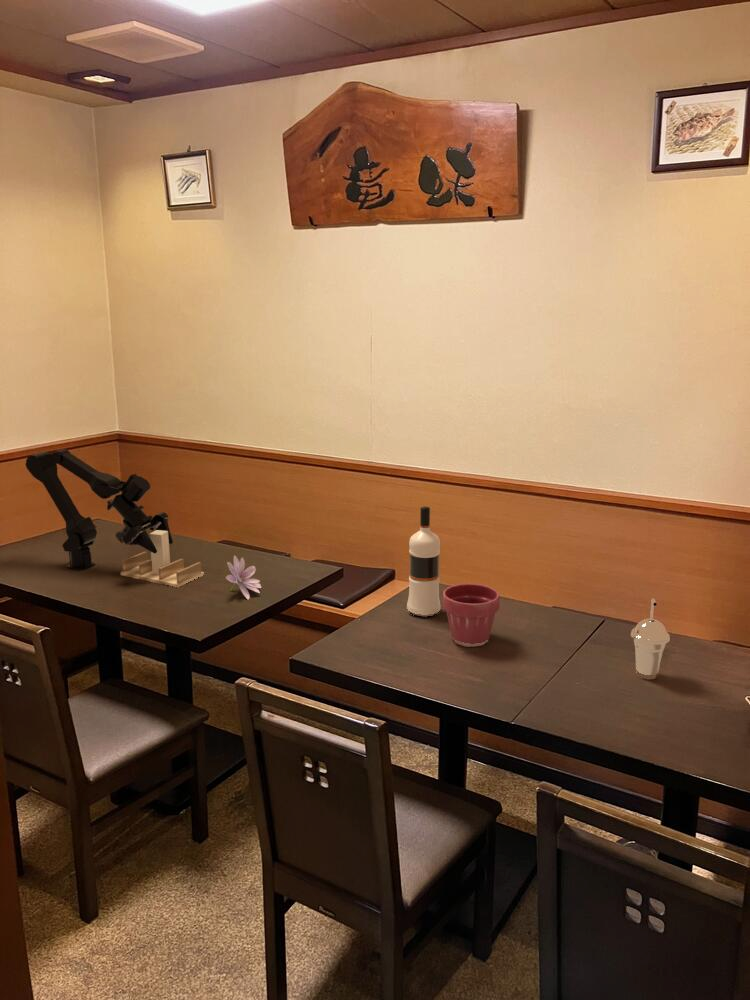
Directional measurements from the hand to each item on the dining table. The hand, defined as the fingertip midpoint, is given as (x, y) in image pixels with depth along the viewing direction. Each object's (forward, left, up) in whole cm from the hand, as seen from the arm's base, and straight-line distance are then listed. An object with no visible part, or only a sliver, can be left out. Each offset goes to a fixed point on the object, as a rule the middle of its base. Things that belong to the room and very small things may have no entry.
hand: (164, 548), depth 247 cm
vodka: (+83, +12, -9) cm, 84 cm away
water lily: (+31, 0, -9) cm, 32 cm away
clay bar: (-1, 0, -8) cm, 8 cm away
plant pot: (+101, +1, -9) cm, 101 cm away
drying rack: (-1, 0, -9) cm, 9 cm away
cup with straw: (+144, +2, -9) cm, 144 cm away
